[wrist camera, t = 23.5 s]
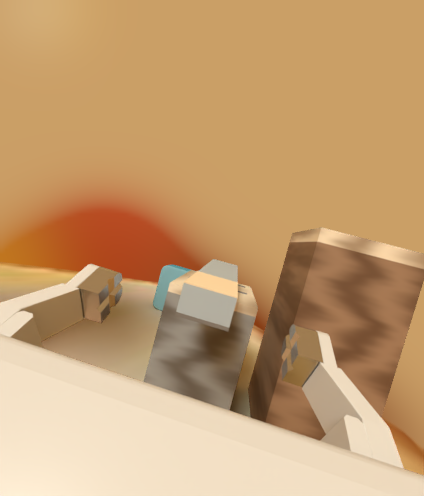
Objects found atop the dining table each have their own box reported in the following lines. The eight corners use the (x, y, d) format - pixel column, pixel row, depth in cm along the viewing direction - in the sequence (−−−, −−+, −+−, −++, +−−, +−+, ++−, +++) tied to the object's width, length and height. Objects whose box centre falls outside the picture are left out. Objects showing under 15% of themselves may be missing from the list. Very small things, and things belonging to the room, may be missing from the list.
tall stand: (254, 459, 26) (321, 227, 25) (248, 388, 39) (292, 233, 38) (357, 495, 25) (431, 255, 24) (316, 410, 38) (363, 251, 37)
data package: (197, 316, 67) (209, 275, 67) (193, 321, 63) (206, 276, 62) (157, 303, 69) (168, 263, 69) (151, 307, 65) (162, 264, 64)
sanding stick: (175, 315, 18) (184, 281, 18) (209, 273, 40) (213, 258, 39) (228, 331, 17) (237, 297, 17) (233, 280, 39) (237, 265, 39)
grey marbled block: (134, 417, 28) (170, 281, 27) (166, 362, 41) (191, 269, 40) (219, 447, 27) (258, 307, 26) (224, 380, 40) (250, 286, 39)
